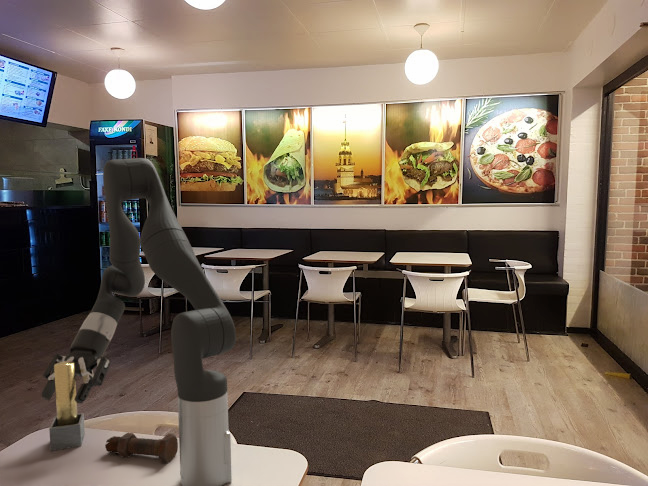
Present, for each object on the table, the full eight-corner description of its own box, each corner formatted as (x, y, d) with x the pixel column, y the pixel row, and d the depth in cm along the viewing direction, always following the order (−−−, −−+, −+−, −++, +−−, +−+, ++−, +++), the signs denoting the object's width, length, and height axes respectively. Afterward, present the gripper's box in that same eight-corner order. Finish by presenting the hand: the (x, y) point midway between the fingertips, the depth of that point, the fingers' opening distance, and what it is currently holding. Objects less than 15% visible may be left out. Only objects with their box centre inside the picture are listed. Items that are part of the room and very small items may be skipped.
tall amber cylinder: (79, 436, 111) (75, 360, 110) (77, 444, 107) (73, 365, 106) (60, 439, 110) (55, 362, 108) (57, 447, 106) (52, 367, 105)
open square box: (84, 433, 112) (83, 413, 112) (81, 445, 107) (80, 424, 106) (55, 438, 110) (54, 417, 110) (50, 450, 105) (49, 428, 104)
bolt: (112, 459, 105) (174, 464, 102) (98, 458, 101) (162, 463, 97) (119, 430, 107) (180, 434, 104) (105, 428, 103) (168, 432, 100)
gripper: (61, 326, 116) (24, 390, 105) (112, 329, 112) (79, 396, 102) (78, 341, 121) (44, 404, 111) (128, 345, 118) (98, 410, 108)
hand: (61, 400), depth 106 cm, fingers open, 8 cm apart
